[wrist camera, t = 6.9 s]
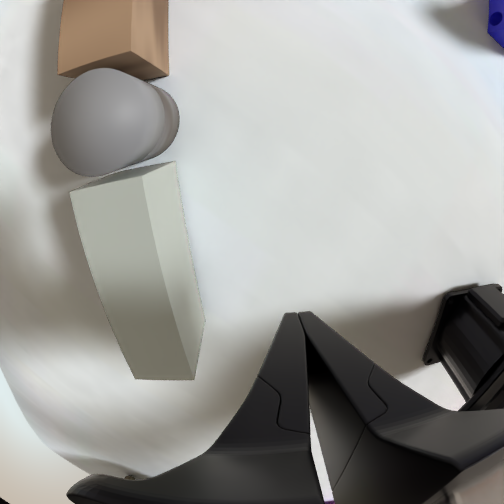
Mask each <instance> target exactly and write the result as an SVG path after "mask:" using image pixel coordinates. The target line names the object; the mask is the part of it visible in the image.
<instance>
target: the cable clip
mask: <svg viewBox="0 0 504 504" xmlns="http://www.w3.org/2000/svg"><path fill="white" fill-rule="evenodd" d="M488 34H489V35H490V36H492V37H493V38H494V39H495V40H496V41H497V42H498V43H499V44H500V45H501V46H502V47H503V48H504V0H489V20H488Z"/></svg>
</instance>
